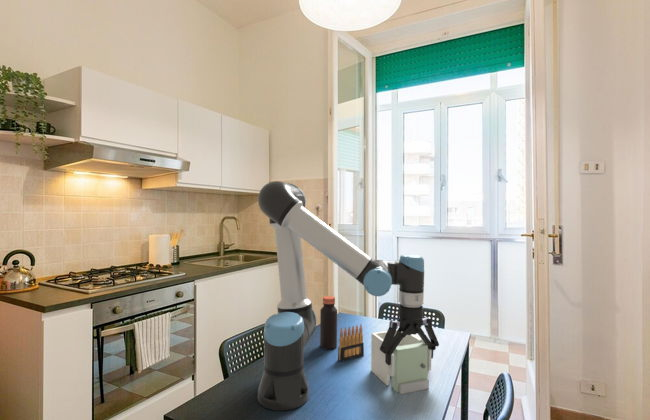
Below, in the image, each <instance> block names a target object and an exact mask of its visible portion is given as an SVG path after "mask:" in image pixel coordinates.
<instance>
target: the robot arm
mask: <svg viewBox="0 0 650 420" xmlns="http://www.w3.org/2000/svg"><path fill="white" fill-rule="evenodd" d="M306 202H307V201H306V196H305V194H304V192H303V190H302V189H301V188H299V187H298V186H297V185H296V184H294V183H293V184H292V183H290V182H287V183H286V182H283V181H278V180H274V181H269V182H268V183H266V184H265V185H264V186H262V188H261V189H260V191H259V192H258V196H257V203H258V207H259V209H260V211H261V212H262V213H263V214H264V215H265V216H266V217H268V218H269V225H270V226H271V227H272V228H273V229H274V233H275V245H276V255H277V258H276V259H277V268H278V269H277V270H278V277H279V278H278V279H279V290H280V301H279V302H278V303H277V305H276V308H277V313H274V314H272V315H271V316H269V317H268V318H267V319H266V321H265V323H264V329H263V362H264V363H263V373H262V377H261V379H260V382H259V386H258V388H257V402H258V403H259V404H260V405H261V406H262V407H263V408H266V409H268V410H272V411H290V410H291V411H292V410H294V409H297V408H299V407H302V406H303V405H305V403H307V402H308V400H309V396H310V389H309V388H310V386H309V383H308V381H307V377H306V374H305V371H304V348H305V345H306V344H307V343H308V341H309V340H310V338H311V337H312V336H313V334H314V333H315V330H316V326H317V315H316V313H315V311H314V310H313V306H312V300H311V299H309V298H308V297H307V296H308V295H307V288H306V287H307V286H306V276H305V266H304V254H303V243H302V239H303V240H304V241H306V242H307V244H309V245H311V247H312V248H314V249H316V251H318V252H319V253H321V254H322V255H324V256H325V257H326V258H327V259H329V260H330V261H331V262H332V263H334V264H336V265H337V266H338V267H340V268H341V269H342V270H343V271H345V272H346V273H347V274H349V275H350V276H351V277H352V278H354V279H355V280H357V282H358V283H360V284H361V285H363V287H364V289H365V291H366V292H367V293H368V294H369V295H371V296H373V297H382V296H385V295H387V293H389V291H390V289H391V288H392V285H395V286H399V287H398V290H399V291H398V302H399V304H398V317H399V318H398V321H397V320H396V321H394V320H392V319H391V320H390V321H389V325H388V329H387V330H386V331H387V333H386V335H385V338H384V340H383V342H382V344H381V347H380V351H382V352H383V353H384V354H385V362H386V364H387V373H388V374H389V375H390V378H393V376H394V354H392V353H393V352H394V350H395V349H396V347H397V346H398V345H399V343H400V342H401V340H402V339H403V338H404V337H405V336H406V335H411V334H413V335H416V334H418V335H419V336H420V337H421V339H422V340H423V341H424V343H425V344H426V345H428V362H427V369H428V370H427V371H429V372H430V371H432V359H433V358H434V351H436V349H437V348H438V347H439V346H440V344H439V341H438V338H437V335H436V333H435V331H434V328H433V326H432V319H430V318H429V317H427V316H424V293H425V292H424V290H425V288H424V287H425V259H424V257H423V256H421V255H418V254H401V255H400V256H399V259H398V260H384V259H374V258H372V257H371V256H370V255H368V254H367V253H365V252H364V251H363V250H361V249H360V248H359V247H358V246H356V245H354V244H353V243H352V242H351V241H349V240H347V238H346V237H344V236H342V235H341V234H340V233H339V232H337V231H336V230H334V229H333V228H332V227H330V226H329V225H328V224H326V223H325V221H323V220H321V219H320V218H319V217H317V216H316V215H315V214H314V213H312V212H310V211H309V210H308V209H306V208H305V206H306ZM422 326H424V328H425V331H426V333H427V335H426V334H425V332H424V330H423V329H422ZM396 330H397V333H396ZM401 332H403V333H401ZM395 333H396V334H395ZM394 335H395V336H394Z"/></svg>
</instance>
